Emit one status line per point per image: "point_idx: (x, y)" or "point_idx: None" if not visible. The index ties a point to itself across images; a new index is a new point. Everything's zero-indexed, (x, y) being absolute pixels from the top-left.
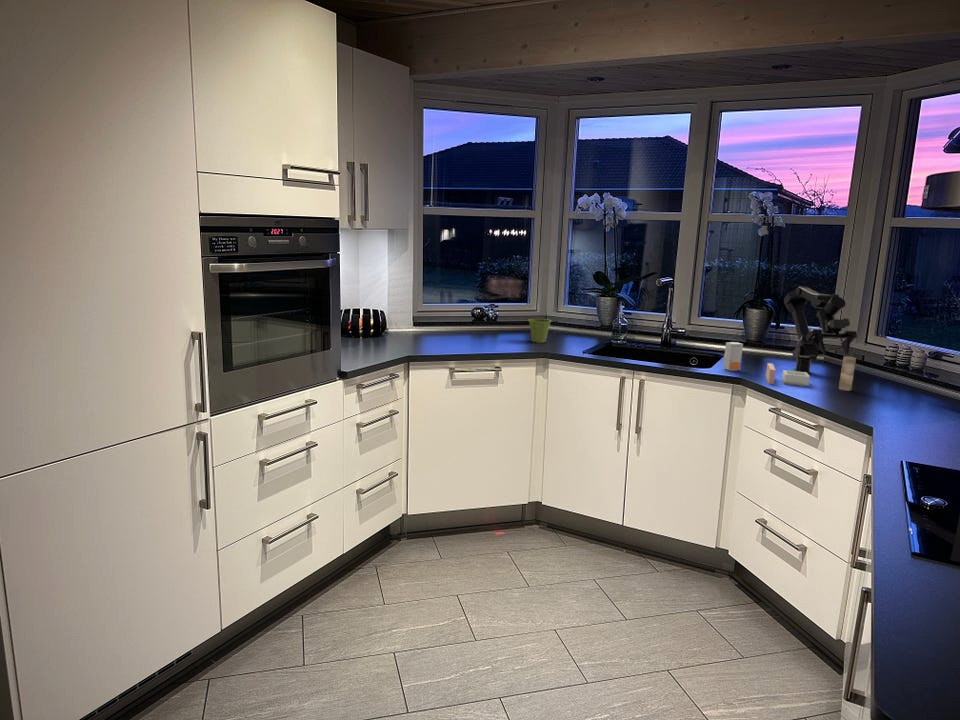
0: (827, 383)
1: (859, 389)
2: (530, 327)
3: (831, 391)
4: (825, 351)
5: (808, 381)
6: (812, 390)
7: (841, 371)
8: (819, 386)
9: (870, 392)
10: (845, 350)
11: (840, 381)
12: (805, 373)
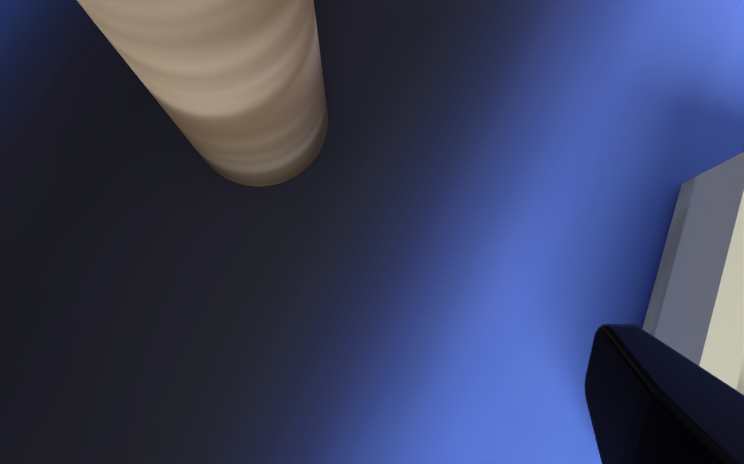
0: (301, 454)
1: (46, 165)
2: None
3: (484, 10)
4: (626, 346)
5: (723, 169)
6: (697, 24)
7: (310, 31)
8: (510, 247)
9: (4, 31)
10: None
11: (323, 82)
12: None
